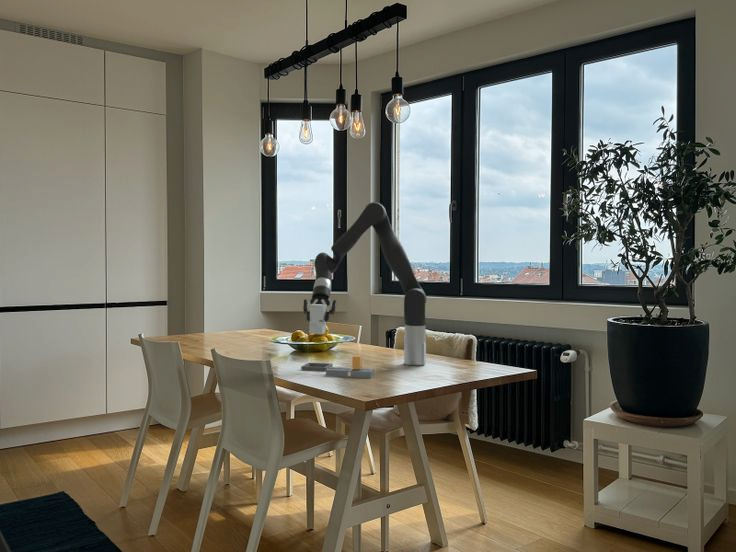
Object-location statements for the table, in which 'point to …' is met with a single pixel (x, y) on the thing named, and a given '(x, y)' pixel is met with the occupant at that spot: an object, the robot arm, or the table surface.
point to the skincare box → (317, 319)
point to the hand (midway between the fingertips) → (317, 320)
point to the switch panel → (349, 372)
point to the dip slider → (357, 362)
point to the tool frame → (316, 366)
